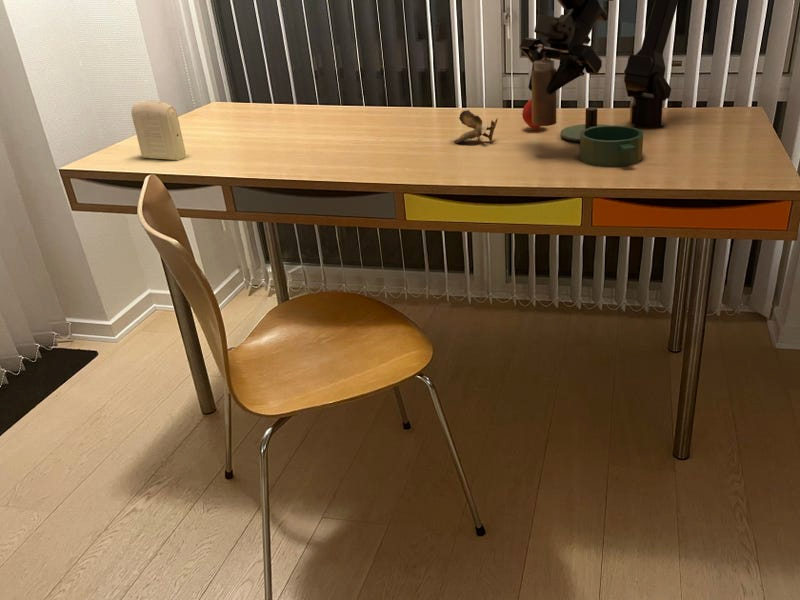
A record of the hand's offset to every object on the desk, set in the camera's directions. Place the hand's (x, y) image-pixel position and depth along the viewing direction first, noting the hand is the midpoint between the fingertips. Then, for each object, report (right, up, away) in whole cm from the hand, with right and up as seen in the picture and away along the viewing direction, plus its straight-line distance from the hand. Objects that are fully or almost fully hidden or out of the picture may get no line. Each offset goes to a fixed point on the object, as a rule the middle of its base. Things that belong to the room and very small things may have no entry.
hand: (539, 91), depth 161 cm
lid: (+13, -3, +19) cm, 23 cm away
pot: (+15, -12, +4) cm, 20 cm away
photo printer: (-83, -9, +19) cm, 85 cm away
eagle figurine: (-13, -5, +19) cm, 24 cm away
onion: (+1, 0, +26) cm, 26 cm away
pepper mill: (+1, -5, +4) cm, 7 cm away
